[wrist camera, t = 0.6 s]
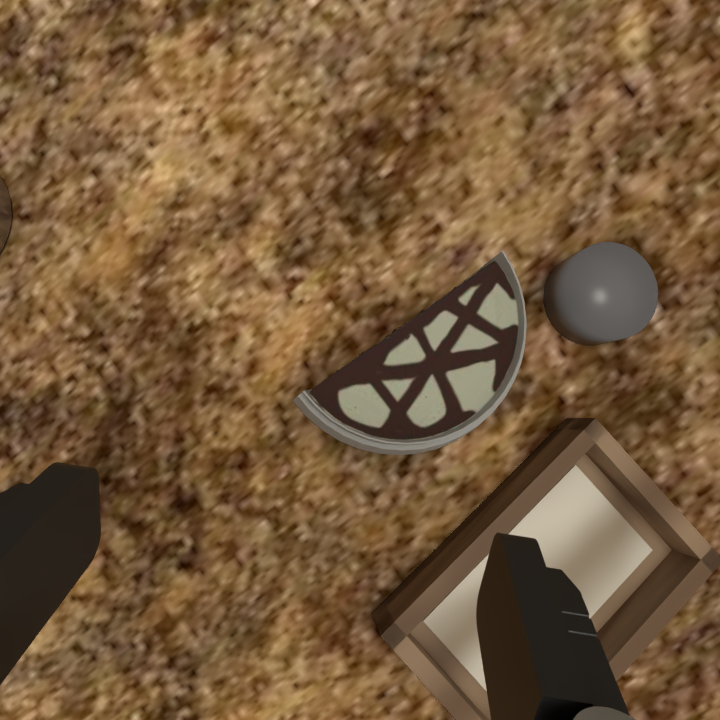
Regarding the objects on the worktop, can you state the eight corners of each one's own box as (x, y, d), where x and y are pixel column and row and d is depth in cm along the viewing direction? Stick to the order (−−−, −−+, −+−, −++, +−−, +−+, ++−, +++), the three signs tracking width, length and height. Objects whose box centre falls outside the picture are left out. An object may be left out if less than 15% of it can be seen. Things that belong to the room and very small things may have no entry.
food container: (351, 488, 34) (375, 516, 24) (292, 404, 34) (292, 398, 24) (508, 370, 36) (589, 352, 26) (452, 292, 36) (511, 244, 26)
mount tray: (371, 613, 34) (380, 636, 30) (566, 418, 36) (595, 418, 33) (496, 752, 34) (519, 790, 30) (682, 546, 36) (723, 560, 33)
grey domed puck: (524, 296, 37) (544, 285, 34) (586, 237, 38) (611, 222, 35) (586, 364, 37) (611, 359, 34) (646, 304, 38) (676, 295, 35)
